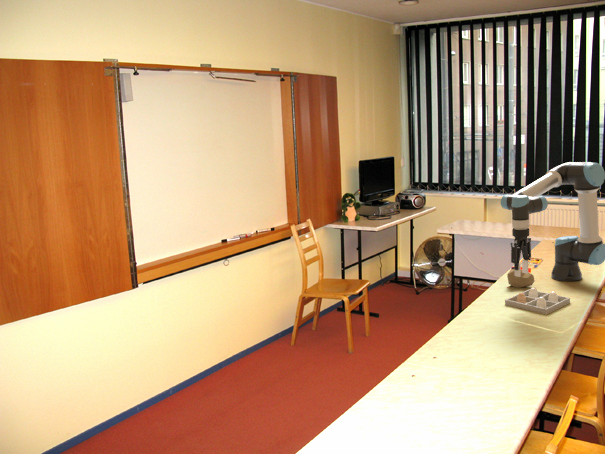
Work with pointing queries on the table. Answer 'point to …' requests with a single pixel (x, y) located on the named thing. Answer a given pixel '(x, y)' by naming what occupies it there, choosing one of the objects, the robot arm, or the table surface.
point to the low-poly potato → (520, 279)
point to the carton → (532, 302)
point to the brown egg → (521, 298)
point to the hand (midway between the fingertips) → (521, 274)
